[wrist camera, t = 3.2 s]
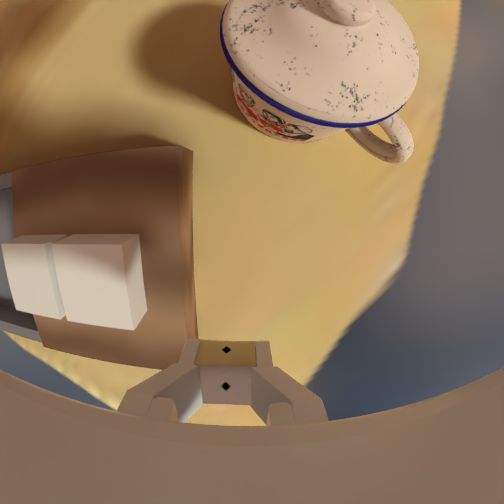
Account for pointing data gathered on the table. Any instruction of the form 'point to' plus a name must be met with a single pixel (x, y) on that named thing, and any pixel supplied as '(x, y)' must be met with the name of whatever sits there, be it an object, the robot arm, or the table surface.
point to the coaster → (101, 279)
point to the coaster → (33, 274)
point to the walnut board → (121, 222)
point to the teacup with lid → (322, 70)
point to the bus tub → (3, 308)
